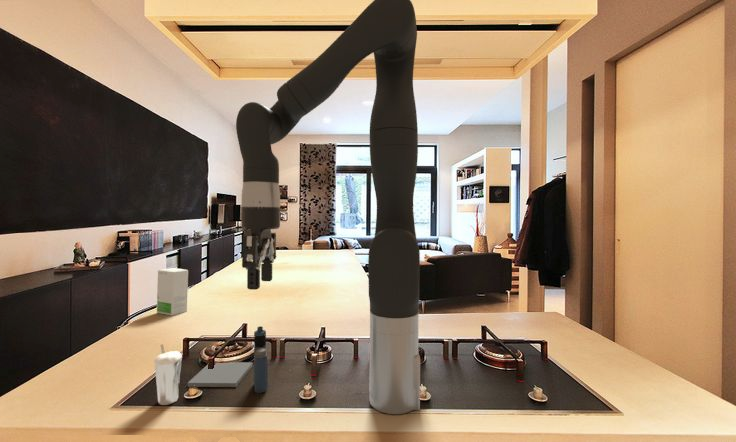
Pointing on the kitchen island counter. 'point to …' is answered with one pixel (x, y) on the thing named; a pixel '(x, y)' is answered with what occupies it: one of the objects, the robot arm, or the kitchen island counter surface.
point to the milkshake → (168, 376)
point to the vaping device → (260, 361)
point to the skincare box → (172, 291)
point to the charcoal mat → (221, 375)
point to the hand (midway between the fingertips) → (260, 284)
